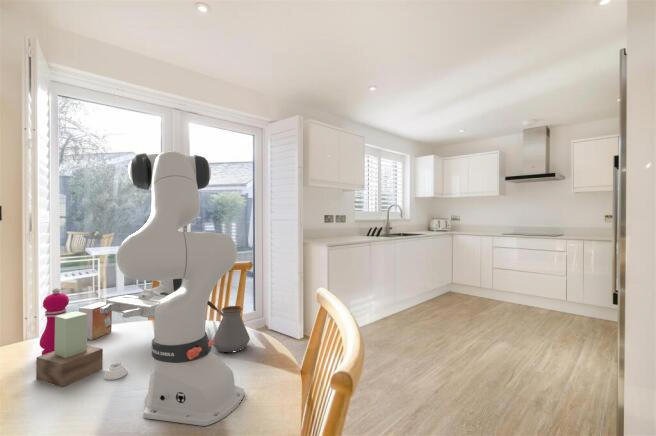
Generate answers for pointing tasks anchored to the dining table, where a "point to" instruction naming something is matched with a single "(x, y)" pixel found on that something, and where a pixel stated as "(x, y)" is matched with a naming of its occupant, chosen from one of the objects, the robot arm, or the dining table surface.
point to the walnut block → (68, 366)
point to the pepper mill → (52, 318)
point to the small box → (97, 320)
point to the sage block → (70, 334)
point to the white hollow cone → (115, 371)
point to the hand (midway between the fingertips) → (112, 312)
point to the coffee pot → (230, 330)
